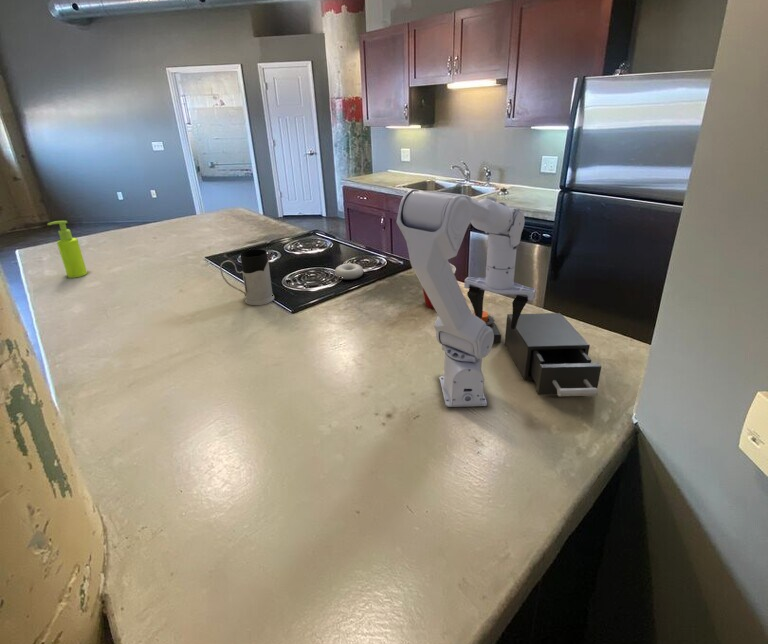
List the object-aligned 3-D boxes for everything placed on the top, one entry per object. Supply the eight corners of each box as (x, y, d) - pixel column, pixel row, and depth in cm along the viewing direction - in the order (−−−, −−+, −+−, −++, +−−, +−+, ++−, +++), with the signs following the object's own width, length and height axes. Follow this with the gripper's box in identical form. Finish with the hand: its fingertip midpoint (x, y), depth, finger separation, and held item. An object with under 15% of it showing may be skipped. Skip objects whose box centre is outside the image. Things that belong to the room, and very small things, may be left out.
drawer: (607, 407, 77) (613, 379, 75) (546, 409, 77) (550, 380, 75) (566, 356, 94) (570, 331, 92) (516, 357, 94) (519, 332, 91)
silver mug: (276, 302, 126) (270, 255, 120) (226, 310, 121) (218, 262, 116) (272, 291, 133) (266, 247, 128) (225, 299, 129) (217, 253, 123)
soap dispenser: (66, 273, 152) (49, 220, 145) (88, 270, 155) (73, 218, 148) (62, 279, 147) (45, 224, 140) (85, 276, 150) (69, 221, 143)
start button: (489, 323, 103) (490, 317, 103) (475, 323, 103) (475, 317, 103) (485, 316, 107) (486, 310, 106) (471, 317, 107) (472, 310, 106)
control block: (500, 342, 102) (502, 328, 100) (468, 343, 101) (468, 328, 100) (490, 323, 111) (491, 309, 109) (460, 323, 111) (461, 310, 109)
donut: (341, 270, 151) (330, 279, 142) (341, 261, 150) (329, 270, 141) (367, 272, 148) (357, 282, 139) (367, 263, 147) (357, 272, 138)
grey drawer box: (583, 378, 87) (590, 345, 84) (524, 380, 87) (528, 346, 84) (556, 342, 101) (560, 312, 98) (504, 344, 101) (507, 314, 98)
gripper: (541, 263, 85) (534, 322, 90) (473, 253, 92) (470, 308, 97) (533, 275, 80) (526, 337, 85) (461, 263, 87) (459, 321, 92)
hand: (496, 322), depth 90 cm, fingers open, 7 cm apart
